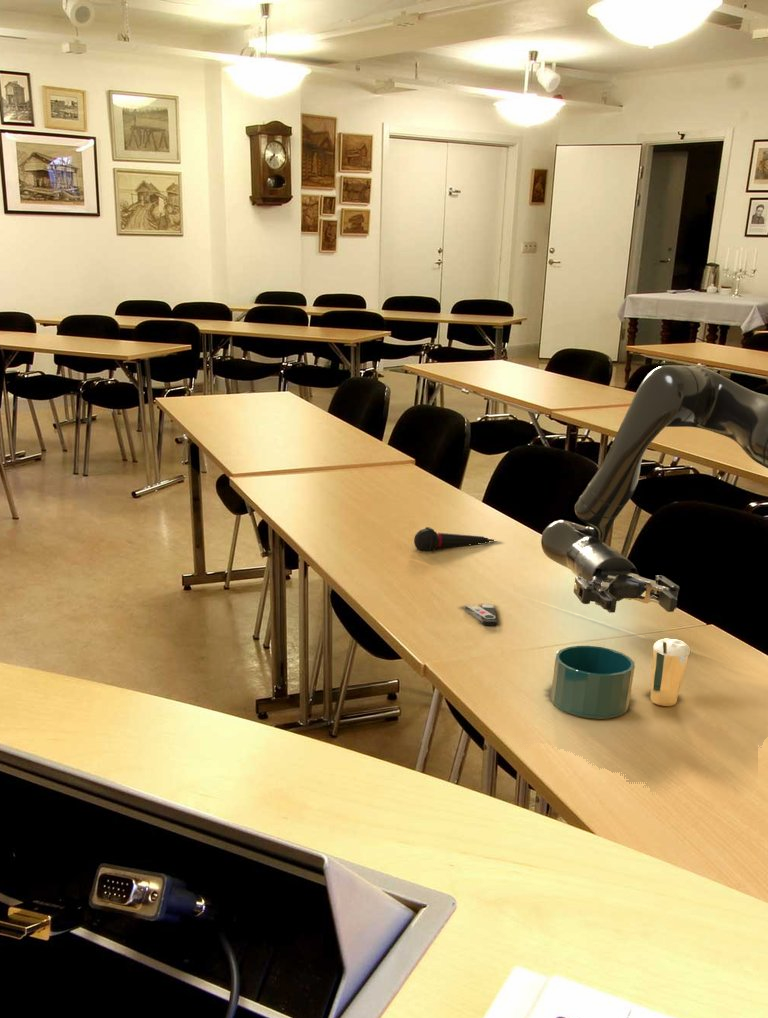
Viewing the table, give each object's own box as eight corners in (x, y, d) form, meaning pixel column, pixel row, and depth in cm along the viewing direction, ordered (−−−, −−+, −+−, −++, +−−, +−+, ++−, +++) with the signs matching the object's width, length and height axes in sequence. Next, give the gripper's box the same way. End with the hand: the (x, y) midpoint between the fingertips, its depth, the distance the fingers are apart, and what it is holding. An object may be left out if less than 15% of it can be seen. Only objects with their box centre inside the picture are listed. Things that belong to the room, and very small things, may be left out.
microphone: (492, 555, 202) (409, 554, 197) (492, 529, 202) (410, 527, 197) (505, 554, 197) (421, 553, 192) (506, 528, 196) (421, 526, 191)
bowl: (581, 680, 134) (586, 640, 132) (643, 705, 126) (650, 662, 124) (535, 698, 129) (540, 657, 127) (597, 725, 121) (603, 681, 119)
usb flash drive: (496, 626, 155) (497, 621, 154) (465, 625, 156) (465, 620, 155) (494, 608, 162) (494, 603, 162) (464, 607, 163) (464, 602, 163)
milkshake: (637, 703, 127) (647, 637, 123) (653, 690, 130) (664, 626, 126) (670, 713, 124) (681, 646, 120) (686, 700, 127) (697, 634, 123)
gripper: (562, 550, 147) (597, 582, 132) (651, 548, 146) (696, 581, 131) (557, 594, 150) (590, 630, 135) (645, 592, 149) (688, 629, 134)
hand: (643, 606), depth 133 cm, fingers open, 8 cm apart
